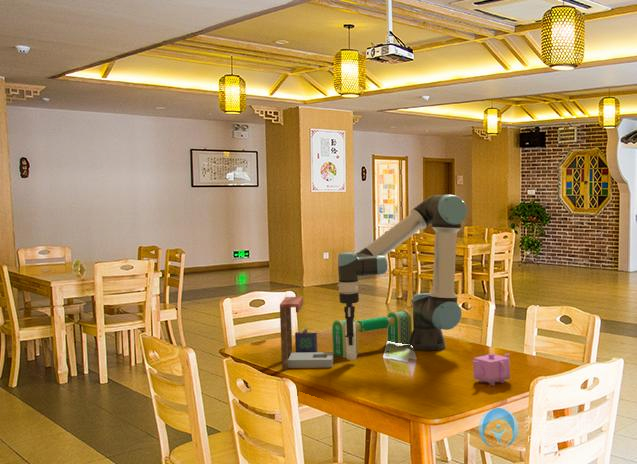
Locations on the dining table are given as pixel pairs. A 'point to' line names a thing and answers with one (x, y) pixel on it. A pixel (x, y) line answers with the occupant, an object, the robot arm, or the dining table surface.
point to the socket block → (311, 360)
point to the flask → (306, 341)
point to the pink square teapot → (492, 368)
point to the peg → (354, 355)
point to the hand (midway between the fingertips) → (351, 351)
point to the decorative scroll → (394, 322)
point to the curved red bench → (287, 326)
